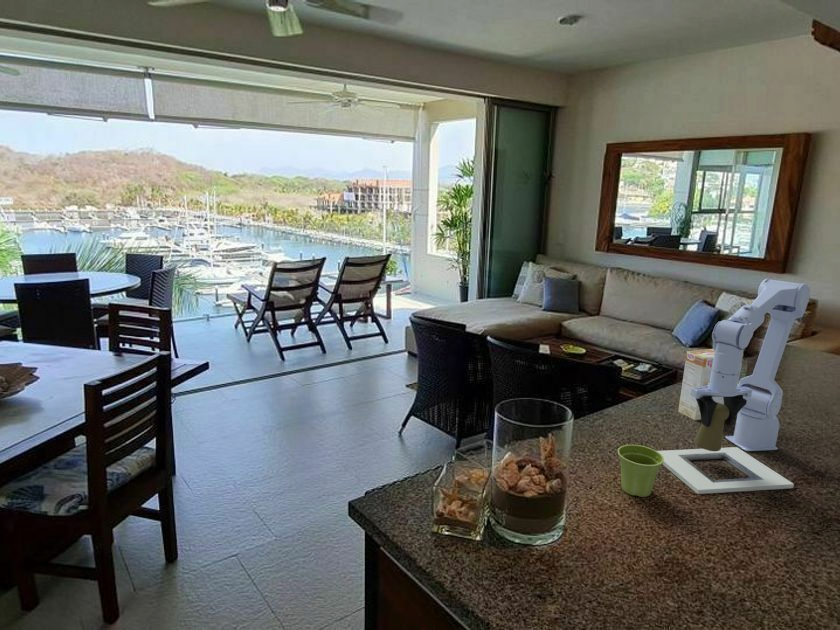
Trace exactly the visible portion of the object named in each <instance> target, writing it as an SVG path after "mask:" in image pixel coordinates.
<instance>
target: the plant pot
mask: <svg viewBox="0 0 840 630" xmlns="http://www.w3.org/2000/svg"><path fill="white" fill-rule="evenodd" d="M657 451H658V450H655V449H653V448H650V447H648V446H644V445H640V444H639V445H638V444H625V445H622V446H620V447H618V448H617V454H618V457H619V460H620V478H621V479H620V480H621V490H623V492H625V493H626V494H628V495H630V496H638V497H639V498H644V497H645V498H646V497H649V496H651V493H652V491H653V488H654V484H655V482H656V478H657V474H658V472H659V469H660V468H661V465H663V462H664V457H663V456H662V455H661V454H660V453H659V452H657Z"/></svg>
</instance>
